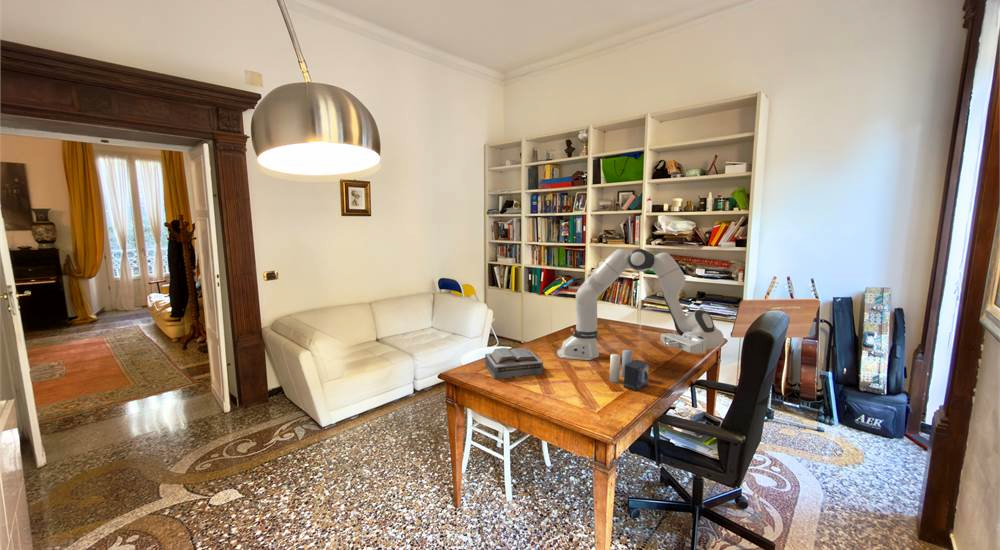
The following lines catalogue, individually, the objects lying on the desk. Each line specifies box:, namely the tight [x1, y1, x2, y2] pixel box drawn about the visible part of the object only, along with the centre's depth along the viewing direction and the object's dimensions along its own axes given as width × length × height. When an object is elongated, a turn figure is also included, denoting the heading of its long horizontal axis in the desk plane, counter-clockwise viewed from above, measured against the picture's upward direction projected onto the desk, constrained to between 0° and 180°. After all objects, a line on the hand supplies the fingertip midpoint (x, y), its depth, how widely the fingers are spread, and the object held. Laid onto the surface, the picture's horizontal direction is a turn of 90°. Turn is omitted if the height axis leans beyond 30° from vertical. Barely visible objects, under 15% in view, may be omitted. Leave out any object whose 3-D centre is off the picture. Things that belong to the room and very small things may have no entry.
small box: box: [623, 359, 650, 392], centre depth 175 cm, size 11×6×10 cm, turn 131°
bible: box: [484, 347, 544, 380], centre depth 196 cm, size 23×27×10 cm
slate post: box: [621, 349, 633, 378], centre depth 187 cm, size 4×4×12 cm
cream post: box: [609, 353, 621, 384], centre depth 182 cm, size 4×4×12 cm
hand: (666, 344), depth 178 cm, fingers closed
